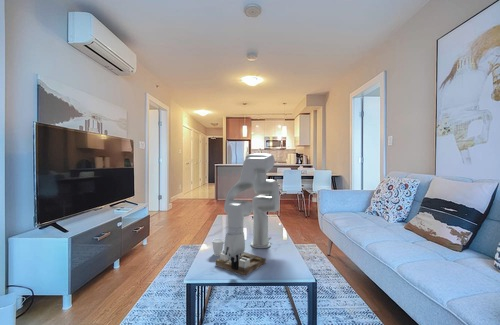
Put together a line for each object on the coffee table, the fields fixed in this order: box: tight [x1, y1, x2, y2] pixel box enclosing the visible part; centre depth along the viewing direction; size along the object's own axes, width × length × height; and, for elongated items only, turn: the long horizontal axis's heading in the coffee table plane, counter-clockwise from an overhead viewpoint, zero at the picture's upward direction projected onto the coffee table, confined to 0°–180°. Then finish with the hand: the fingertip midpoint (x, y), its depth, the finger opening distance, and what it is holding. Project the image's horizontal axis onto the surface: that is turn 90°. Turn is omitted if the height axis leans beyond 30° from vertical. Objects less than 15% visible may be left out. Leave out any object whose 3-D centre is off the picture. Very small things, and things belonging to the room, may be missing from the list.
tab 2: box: [239, 257, 250, 269], centre depth 121 cm, size 4×4×5 cm
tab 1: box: [219, 250, 228, 262], centre depth 129 cm, size 4×4×5 cm
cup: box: [211, 238, 225, 257], centre depth 143 cm, size 7×10×8 cm
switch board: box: [215, 251, 267, 277], centre depth 129 cm, size 18×19×3 cm
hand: (234, 269), depth 116 cm, fingers closed
